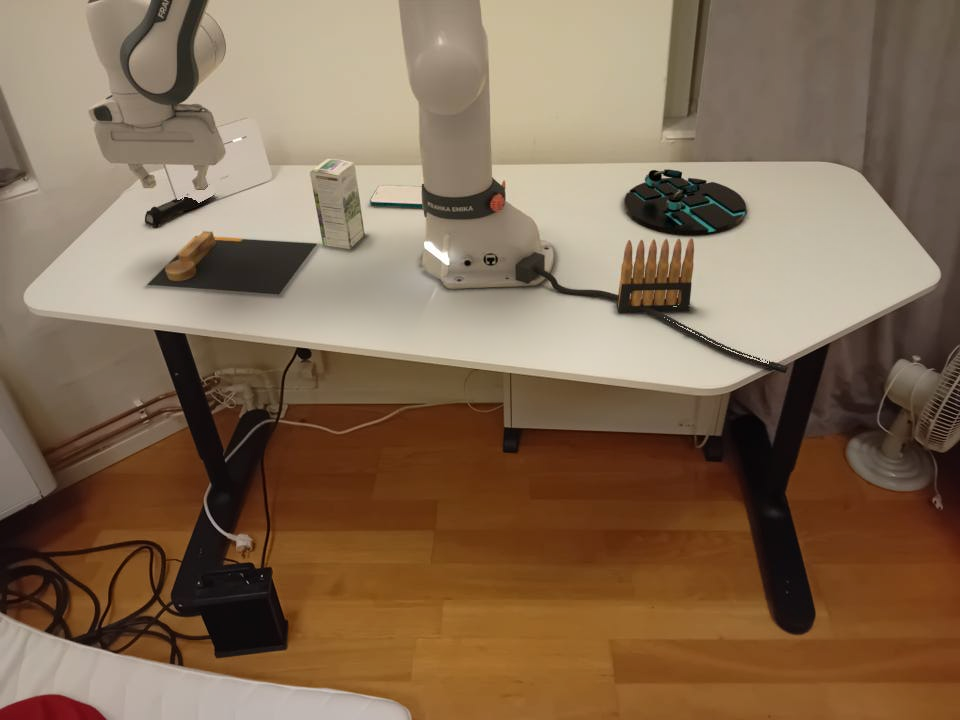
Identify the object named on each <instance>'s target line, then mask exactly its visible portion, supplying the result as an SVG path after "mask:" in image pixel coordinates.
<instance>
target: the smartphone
mask: <svg viewBox="0 0 960 720" xmlns="http://www.w3.org/2000/svg"><path fill="white" fill-rule="evenodd" d="M421 193H422V185H421V186H420V185H397V184H395V185H393V184H381V185H378V186H377V188H376V189H375V191H374V192H373V194H372V196H371V198H370V199H369V204H370V205H371V206H375V207H396V208H419V209H421V208H422V209H423V207H422V196H421Z"/></svg>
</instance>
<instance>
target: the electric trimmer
mask: <svg viewBox="0 0 960 720" xmlns="http://www.w3.org/2000/svg"><path fill="white" fill-rule="evenodd" d="M214 196H215V195H213V196H212V197H210V198H208V199H206V200H204V201H202V202H200V203H198V202H197V201H196V200H193V199H192V198H188V197H184V199H183V198H182V199H183V200H182V199H180V200H177V198H173V199H171V200H170V201H168V202H165V203H163V204H161V205H159V206H152V207H151V208H150V210H147V211H146V213H145V216H144V223H145V224H146V226H149V227H151V228H154V227H159V226H160V225H161V223H162V222H164V221H166V220H169V218H172V217H174V216H176V215H178V214H180V213H182V212H185V211H186V210H193V209H195V208H196V207H199V206H200V205H202V204H203V203H205V202H206V201H208V200H210V199H211V198H213V197H214Z"/></svg>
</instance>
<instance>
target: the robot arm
mask: <svg viewBox="0 0 960 720" xmlns="http://www.w3.org/2000/svg"><path fill="white" fill-rule="evenodd" d="M209 3H210V0H87V3H86V5H85V15H86V16H85V17H86V21H87V25H88V30H89V33H90V36H91V41H92V43H93V46H94V48H95V52H96V55H97V57H98V60H99V62H100V64H101V66H103V68H104V69H105V71H106V74H107V77H108V85H109V90H110V93H111V95H108V96H107V97H105V98H103V99H101V100H100V101H98V102H97V103H95V104H93V105H92V106H90V107H89V108H88V109H87V112H88V113H87V114H88V116H89V118H90V120H92V122H95V123H94V126H93V132H94V135H95V138H96V141H97V145H98V147H99V150H100V153H101V155H102V157H103V158H104V159H105V160H106V161H107V162H109V164H117V165H118V164H121V165H125V164H127V165H128V168H129V170H130V172H132V173H133V174H134V176H135V177H137V178H138V179H139V180H140V182H141V186H142V188H143V189H154V188H155V187H156V186H157V180H155V179H156V178H155V175H154V174H150V173H149V172H148V170H146V169H145V167H144V165H169V166H170V165H177V166H192V167H193V169H194V171H195V172H197V175H196V176H195V177H194V178H192V180H191V182H192V184H193V188H194V190H205V189H206V188H207V187H208V185H209V183H208V180H207V177H206V176H207V175H208V171H209V168H210V167H209V166H216V165H217V164H219V163H220V162H222V160H223V159H224V158H225V156H226V154H227V150H226V147H225V144H224V141H223V138H222V137H221V134H220V131H219V130H218V127H217V125H216V121H215V117H214V115H213V113H212V112H211V110H210V109H208V108H206V107H204V106H203V105H202V104H200V103H192V104H190V103H189V104H187V103H184V102H186V101H187V100H188V99H189V98H190V97H191V95H192V94H193V92H195V90H196V89H197V87H198V86H199V85H201V83H202V82H204V81H205V80H206V79H207V78H208V77H209V76H210V75H211V74H212V73H213V72H214V71H215V70H216V69H217V68H218V67H219V66H220V64H221V63H222V62H223V60H224V59H225V56H226V52H227V44H226V43H227V42H226V39H225V35H224V33H223V30H222V28H221V27H220V25H219V24H218V22H217V21H216V20H215V19H214V17H212V16H211V15H210V14H209V13H207V9H208V7H209ZM398 9H399V19H400V26H401V34H402V35H401V36H402V42H403V50H404V57H405V65H406V71H407V78H408V82H409V86H410V89H411V91H412V94H413V96H414V98H415V99H416V101H417V102H418V103H417V104H418V140H419V149H420V161H421V170H422V171H421V172H422V179H423V180H422V181H423V183H422V184H421V186H422V193H421V196H422V207H423V208H422V210H423V216H424V218H425V239H424V246H423V247H424V249H423V253H422V258H421V264H422V268H423V269H424V270H425V271H426V272H427V273H428V274H430V275H432V276H433V277H436V278H438V279H439V281H440V282H441V283H442V284H443V286H444V287H445V288H446V289H450V290H451V289H453V290H454V289H479V288H481V289H482V288H508V287H531V286H537V285H539V284H541V283H543V281H545V280H547V281H549V282H550V284H551V286H552V288H553V289H554V290H555V291H557V292H559V293H561V294H564V295H570V296H580V297H600V298H603V299H608V300H610V301H614V302H617V300H618V294H616V293H614V292H613V293H612V292H608V291H605V290H600V289H573V288H567V287H565V286H563V285H561V284H559V283H558V280H557V278H556V277H555V276H554V275H552V274H551V272H552V269H553V266H554V262H555V261H554V260H555V259H554V258H555V254H554V249H553V246H552V245H551V243H550V242H549V241H548V240H546V239H541V237H540V232H539V231H540V230H539V228H538V225H537V223H536V221H535V220H534V218H533V217H531V216H529V215H527V214H526V213H524V212H523V211H521V210H520V209H518V208H517V207H516V206H514V205H512V204H511V203H510V202H508V201H507V200H506V196H507V195H506V180H505V179H504V180H503V181H502V183H501V184H500V183H499V182H498V181H497V180H496V179H495V178H494V177H493V160H492V159H493V157H492V135H491V133H492V132H491V130H492V129H491V99H490V95H491V94H490V66H489V64H490V62H489V60H490V59H489V40H488V39H489V38H488V35H487V32H486V30H485V27H484V25H483V18H482V8H481V0H398ZM629 306H630V305H629ZM640 306H645V305H643V304H641V305H640ZM641 310H642V311H643V312H646V313H645V314H648V315H649V316H652V317H654V318H656V319H658V320H660V321H661V322H664V323H665V324H668V325H669V326H671V327H673V328H675V329H677V330H678V331H680V332H683V333H684V334H687V335H688V336H690V337H692V338H694V339H696V340H698V341H700V342H701V343H703V344H705V345H707V346H710V347H711V348H713V349H715V350H718V351H720V352H722V353H724V354H727V355H728V356H730V357H734V358H736V359H738V360H740V361H741V360H742V361H745V362H747V363H750V364H754V365H756V366H760V367H763V368H767V369H771V370H774V371H776V372H780V373H783V374H786V373H787V371H788V369H789V366H788V365H785V364H782V363H779V362H775V361H772V362H770V361H771V360H769V364H767V363H768V361H767V363H763V362H760V361H761V360H760V358H761V357H758V356H755V355H752V354H749V353H746V352H743V351H741V350H738V349H735V348H733V349H731V348H732V347H730V346H728V345H726V346H725V344H723V343H721V342H719V341H717V340H715V339H713V338H711V337H709V336H707V335H705V334H704V333H701V332H700V331H698V330H696V329H694V328H692V327H690V328H689V326H688V325H686V326H685V324H684V323H682V322H680V321H678V320H676V319H674V318H672V317H671V316H669V315H667V314H666V313H664V312H659V311H657V310H655V309H653V308H651V307H647V306H645V307H642V308H641ZM664 317H665V318H664ZM667 319H668V320H667ZM669 320H670V321H669ZM673 322H674V323H673ZM679 322H680V323H679ZM676 323H677V324H678V325H680V326H683V327H684V328H686V329H687V328H688V329H689V330H692V332H695V334H694V333H692V332H690V331H688V330H686V329H684V328H682V327H680V326H678V325H677V324H676ZM681 323H682V324H681ZM687 326H688V327H687ZM691 328H692V329H691ZM693 329H694V330H693ZM696 334H698V335H699V336H698V335H696ZM700 336H703V337H704V338H706V339H707V340H709V341H712V342H713V343H715V344H717V345H720V346H721V345H722V346H721V347H720V346H717V345H715V344H713V343H711V342H709V341H707V340H705V339H704V338H702V337H700ZM708 337H709V338H708ZM716 341H717V342H716ZM718 342H719V343H718ZM727 346H728V347H727ZM722 347H725V348H727V349H730V350H732V351H735V352H737V353H739V354H742V355H743V354H744V355H747V356H749V357H752V356H753V358H756V359H758V360H760V361H757V360H754V359H750V358H747V357H744V356H742V355H739V354H736V353H734V352H731V351H729V350H726V349H724V348H722ZM737 350H738V351H737ZM742 352H743V353H742ZM745 353H746V354H745ZM748 354H749V355H748ZM751 355H752V356H751ZM754 356H755V357H754ZM757 357H758V358H757ZM763 359H764V358H762V360H763ZM766 360H767V359H765V361H766ZM779 366H780V367H779Z"/></svg>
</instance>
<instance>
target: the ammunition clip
mask: <svg viewBox="0 0 960 720" xmlns="http://www.w3.org/2000/svg"><path fill="white" fill-rule="evenodd" d="M682 249H683V248H682V241H681V239H680V238H677V240H676V242H675V243H674V246H673V250H672V256H671V261H670V263H669V258H670V257H669V256H670V255H669V254H670V245H669V240H668V239H667V238H665V239H664V241H663V242H662V244H661V249H660V252H659V253H660V254H659V259H658V263H657V257H658V256H657V255H658V247H657V241H656V239H655V238H654V239H652V241H651V242H650V244H649V248H648V253H647V260H646V262H645V251H646V250H645V242H644V240H643V239H640V241H639V242H638V245H637V247H636V252H635V260H634V263H633V244H632V241H631V239H628V240H627V241H626V244H625V247H624V251H623V252H624V254H623V257H622V259H623V260H622V264H621V269H620V270H621V271H620V279H619V286H618V292H617V293H618V294H617V295H618V300H617V301H616V309H617V313H618V314H647V313H646V312H643V311H642V310H641V308H642V307H645V306H647V307H651V308H653V309H655V310H657V311H659V312H661V313H688V312H690V306H688V305H691V294H692V280H693V272H694V255H695V242H694V239H693V238H692V237H691V238H689V240H688V242H687V245H686V249H685V253H684V257H683V261H682V251H683V250H682ZM641 304H643V305H645V306H640V305H641ZM678 304H679V305H678ZM629 305H630V306H629ZM673 306H677V307H673Z"/></svg>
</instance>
